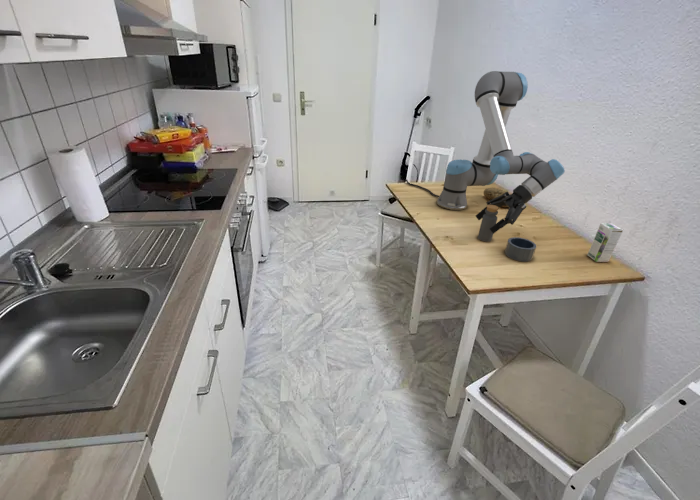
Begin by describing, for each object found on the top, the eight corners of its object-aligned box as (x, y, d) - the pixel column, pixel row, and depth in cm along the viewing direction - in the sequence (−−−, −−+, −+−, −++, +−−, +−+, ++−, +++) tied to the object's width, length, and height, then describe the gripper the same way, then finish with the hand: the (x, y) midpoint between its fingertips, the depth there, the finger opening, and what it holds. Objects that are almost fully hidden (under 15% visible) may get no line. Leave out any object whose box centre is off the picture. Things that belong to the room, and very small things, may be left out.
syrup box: (586, 255, 148) (599, 222, 141) (599, 255, 148) (613, 222, 142) (595, 262, 143) (610, 229, 136) (609, 262, 143) (624, 229, 137)
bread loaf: (517, 210, 192) (504, 191, 207) (519, 198, 187) (506, 179, 202) (492, 214, 193) (480, 194, 208) (493, 201, 188) (482, 182, 203)
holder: (500, 254, 144) (504, 242, 142) (510, 246, 151) (513, 234, 149) (527, 264, 138) (531, 252, 136) (535, 255, 145) (540, 243, 143)
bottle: (492, 242, 154) (501, 210, 147) (478, 240, 155) (486, 208, 148) (490, 236, 159) (499, 205, 152) (476, 235, 160) (484, 203, 153)
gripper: (548, 208, 139) (502, 243, 144) (515, 187, 160) (476, 218, 166) (540, 195, 135) (493, 231, 141) (507, 175, 157) (467, 207, 162)
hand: (483, 224), depth 153 cm, fingers open, 13 cm apart
